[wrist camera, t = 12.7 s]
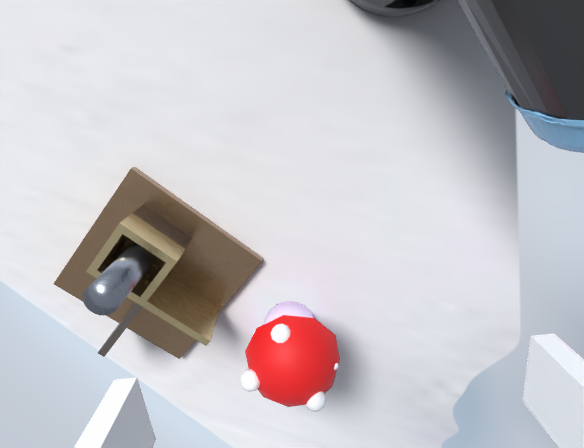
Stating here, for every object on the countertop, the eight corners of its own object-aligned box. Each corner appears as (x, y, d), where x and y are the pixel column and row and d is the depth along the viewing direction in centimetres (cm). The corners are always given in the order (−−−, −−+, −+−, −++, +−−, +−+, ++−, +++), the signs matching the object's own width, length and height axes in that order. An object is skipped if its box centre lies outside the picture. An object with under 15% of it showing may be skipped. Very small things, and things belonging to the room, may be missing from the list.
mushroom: (233, 308, 48) (218, 375, 36) (308, 271, 46) (317, 327, 35) (274, 367, 51) (272, 445, 40) (346, 333, 49) (365, 404, 38)
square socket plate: (134, 166, 41) (104, 181, 34) (262, 257, 45) (258, 287, 38) (58, 280, 46) (17, 313, 39) (181, 353, 50) (164, 396, 43)
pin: (148, 225, 43) (94, 277, 30) (170, 240, 43) (126, 297, 31) (134, 244, 43) (76, 302, 31) (156, 258, 44) (107, 321, 32)
